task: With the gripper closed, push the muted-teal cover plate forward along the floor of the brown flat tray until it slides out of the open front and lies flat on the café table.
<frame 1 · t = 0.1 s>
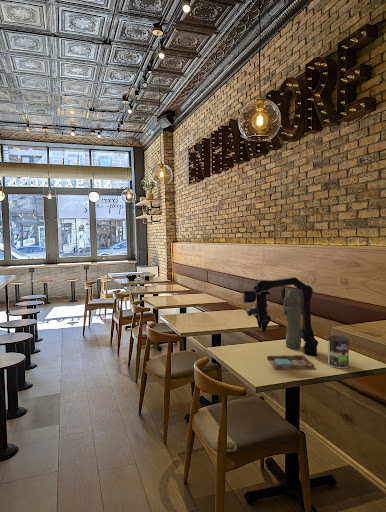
hand: (261, 329, 211), 15 cm above the table, tool pointing down, fingers open, 9 cm apart
brown flat tray: (289, 364, 196), on the table
thermos: (293, 347, 228), on the table
coffee can: (338, 365, 196), on the table
cover plate: (283, 363, 196), point 1 cm above the table, touching brown flat tray
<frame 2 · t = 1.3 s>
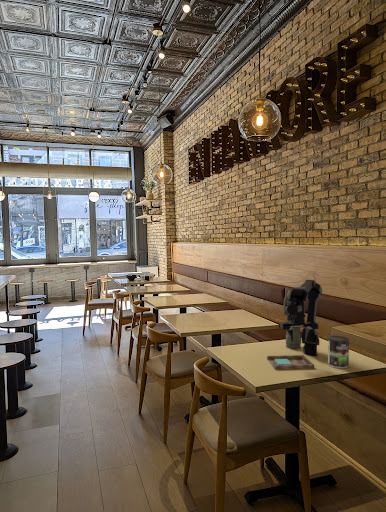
hand: (298, 341, 196), 12 cm above the table, tool pointing down, fingers open, 7 cm apart
nothing on the table moved.
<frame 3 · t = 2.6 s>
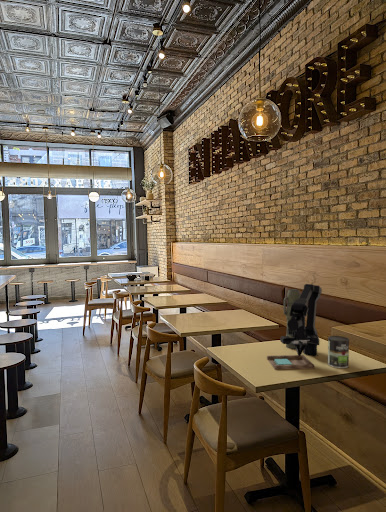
hand: (299, 355, 196), 5 cm above the table, tool pointing down, fingers closed
nothing on the table moved.
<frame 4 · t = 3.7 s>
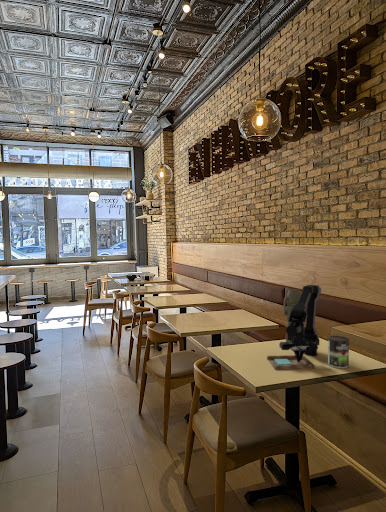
hand: (298, 361, 196), 1 cm above the table, tool pointing down, fingers closed
nothing on the table moved.
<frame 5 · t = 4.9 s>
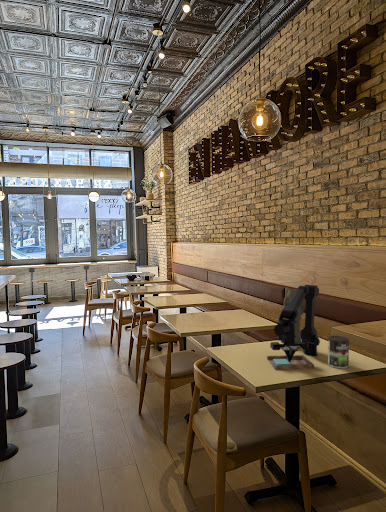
hand: (289, 361, 196), 2 cm above the table, tool pointing down, fingers closed
nothing on the table moved.
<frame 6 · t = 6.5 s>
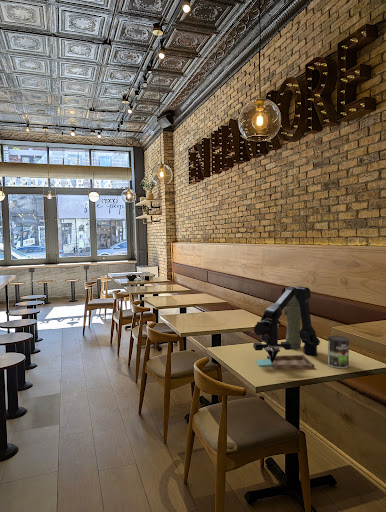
hand: (271, 362, 196), 2 cm above the table, tool pointing down, fingers closed
cover plate: (264, 364, 196), on the table, tilted 5°, touching gripper
everything else where it was.
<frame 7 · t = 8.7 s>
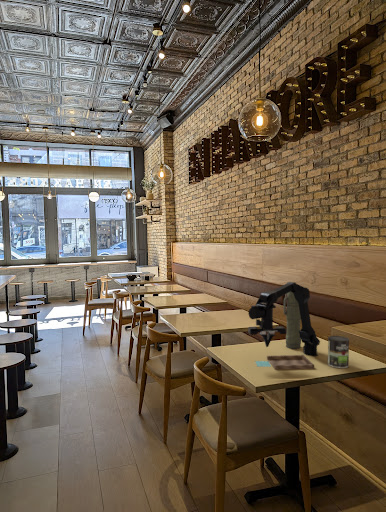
hand: (266, 346, 195), 10 cm above the table, tool pointing down, fingers closed
cover plate: (262, 366, 196), on the table
everything else where it was.
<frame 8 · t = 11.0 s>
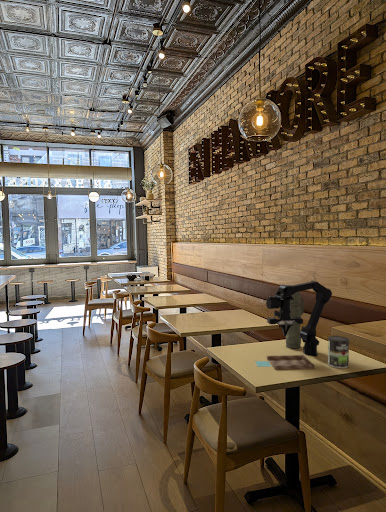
hand: (284, 336, 208), 12 cm above the table, tool pointing down, fingers closed
nothing on the table moved.
at the end: cover plate inside the target area (3.6 cm from its centre), on the table; cover plate touching table; cover plate tilted 0° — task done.
